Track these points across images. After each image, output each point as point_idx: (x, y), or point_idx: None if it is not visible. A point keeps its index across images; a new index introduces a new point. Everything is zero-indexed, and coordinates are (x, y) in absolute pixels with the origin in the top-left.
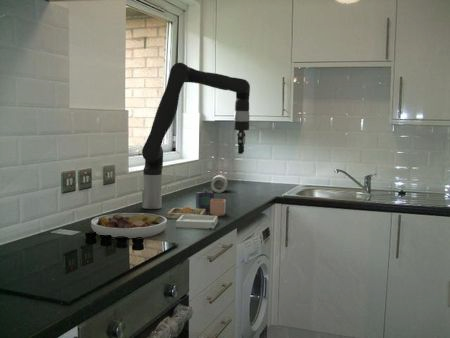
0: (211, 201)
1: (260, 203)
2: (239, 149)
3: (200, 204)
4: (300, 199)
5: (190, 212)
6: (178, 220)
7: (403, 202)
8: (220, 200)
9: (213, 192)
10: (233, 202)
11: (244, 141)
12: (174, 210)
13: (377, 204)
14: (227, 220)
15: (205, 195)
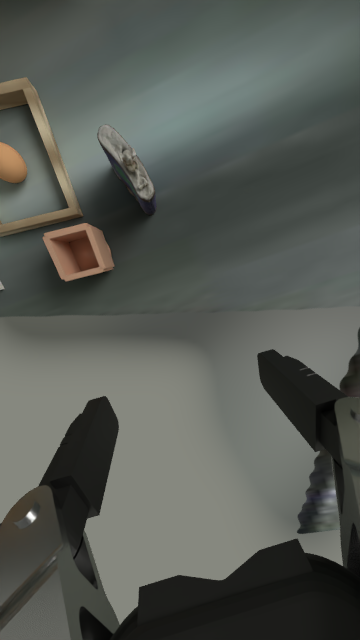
0: (44, 239)
1: (283, 304)
2: (62, 451)
3: (116, 171)
4: (354, 367)
5: (8, 181)
6: None
7: None
8: (96, 255)
9: (149, 200)
10: (280, 232)
11: (341, 546)
12: (18, 96)
13: (321, 475)
14: (37, 304)
15: (125, 174)
